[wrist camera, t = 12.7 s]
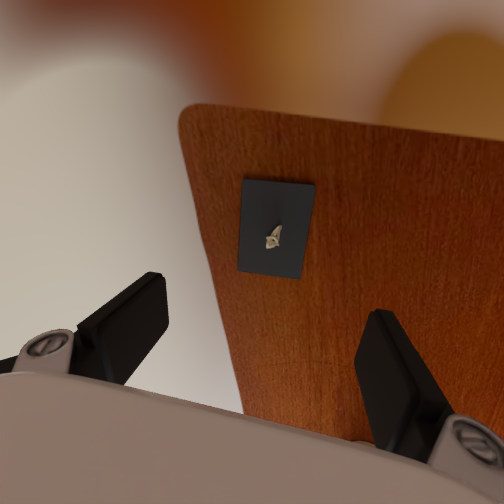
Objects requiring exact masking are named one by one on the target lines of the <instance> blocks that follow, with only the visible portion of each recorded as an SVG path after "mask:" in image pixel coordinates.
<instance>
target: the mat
mask: <svg viewBox="0 0 504 504" xmlns="http://www.w3.org/2000/svg"><path fill="white" fill-rule="evenodd" d="M315 189H316V185H310V184H299V183H288V182H277V181H267V180H256V179H245V178H244V179H243V183H242V201H241V219H240V236H239V254H238V271H244V272H251V273H258V274H264V275H271V276H278V277H285V278H292V279H299V280H300V276H301V271H302V265H303V259H304V253H305V247H306V242H307V236H308V230H309V224H310V218H311V212H312V207H313V201H314V195H315ZM279 225H282V228H281V230H280V236H279V241H278V244H279V246H278V245H276V246H274V248H268V249H267V248H266V242H267V238H266V237H270V236H271V234H272V232H273V231H274V230H275V229H276V228H277V227H278V226H279ZM275 237H277V235H276V236H275ZM272 241H275V240H274V239H273V240H272ZM275 244H276V243H275ZM269 245H270V244H269Z"/></svg>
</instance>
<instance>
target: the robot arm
mask: <svg viewBox="0 0 504 504" xmlns="http://www.w3.org/2000/svg"><path fill="white" fill-rule="evenodd" d="M168 325H169V316H168V305H167V292H166V280H165V278H164V277H163V276H162V274H161V273H155V272H147V273H146V274H144V275H143V276H142V277H140V278H139V279H138V280H136V281H135V282H134V283H132V284H131V285H130V286H128V287H127V288H126V289H125V290H123V291H122V292H120V293H119V294H118V295H117V296H115V297H114V298H113V299H111V300H110V301H109V302H107V303H106V304H105V305H103V306H102V307H101V308H99V309H98V310H97V311H95V312H94V313H93V314H91V315H90V316H89V317H87V318H86V319H85V320H83V321H82V322H81V323H79V324H78V325H77V328H78V330H77V331H76V332H75V333H73V332H72V331H70V330H67V329H57V330H51V331H48V332H45V333H42V334H40V335H38V336H36V337H34V338H33V339H31V340H30V341H28V342H27V343H26V344H25V345H24V346H23V347H22V349H21V350H20V353H19V355H17V356H14V357H10V358H7V359H4V360H0V504H504V440H503V439H502V438H501V437H499V436H498V435H497V434H496V433H495V432H494V431H493V430H491V429H490V428H489V427H487V426H486V425H485V424H483V423H481V422H479V421H478V420H476V419H474V418H471V417H469V416H466V415H462V414H455V412H454V411H453V409H452V407H451V406H450V404H449V402H448V401H447V399H446V397H445V396H444V394H443V392H442V391H441V389H440V388H439V386H438V384H437V383H436V381H435V379H434V378H433V376H432V374H431V373H430V371H429V369H428V368H427V366H426V365H425V363H424V361H423V360H422V358H421V356H420V355H419V353H418V352H417V350H416V349H415V348H414V346H413V345H412V343H411V341H410V340H409V338H408V336H407V335H406V333H405V331H404V330H403V328H402V326H401V325H400V323H399V321H398V320H397V318H396V316H395V315H394V313H393V312H392V311H388V310H382V309H376V310H375V311H374V312H373V311H371V312H370V314H369V316H368V320H367V323H366V326H365V329H364V332H363V335H362V338H361V341H360V344H359V347H358V350H357V353H356V356H355V360H354V366H355V371H356V374H357V378H358V382H359V386H360V390H361V393H362V397H363V401H364V405H365V409H366V412H367V416H368V420H369V424H370V428H371V431H372V435H373V439H374V443H375V447H376V448H373V447H369V446H366V445H362V444H358V443H355V442H351V441H347V440H343V439H340V438H336V437H332V436H328V435H324V434H320V433H316V432H312V431H308V430H304V429H300V428H296V427H292V426H288V425H284V424H280V423H276V422H272V421H268V420H264V419H260V418H256V417H252V416H248V415H244V414H240V413H236V412H231V411H227V410H223V409H219V408H215V407H211V406H207V405H203V404H199V403H195V402H191V401H187V400H182V399H178V398H174V397H170V396H166V395H161V394H158V393H153V392H149V391H145V390H141V389H136V388H132V387H128V386H124V384H125V383H126V381H127V380H128V379H129V378H130V376H131V375H132V374H133V372H134V371H135V370H136V369H137V367H138V366H139V365H140V363H141V362H142V361H143V360H144V358H145V357H146V356H147V354H148V353H149V352H150V350H151V349H152V348H153V346H154V345H155V344H156V343H157V341H158V340H159V339H160V337H161V336H162V335H163V334H164V332H165V331H166V330H167V328H168Z"/></svg>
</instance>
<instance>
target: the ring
mask: <svg viewBox="0 0 504 504" xmlns="http://www.w3.org/2000/svg"><path fill="white" fill-rule="evenodd" d="M281 228H282V225H279V226H278V227H277V228H276V229H275V230H274V231H273V232H272V234H271V236H270V237H266V238H267V242H266V248H267V249H268V248H274V246H276V245H278V246H279V244H278V241H279V236H280V230H281ZM276 235H277V237H275V236H276ZM273 239H274V240H275V241H272V240H273ZM275 243H276V244H275ZM269 244H270V245H269Z"/></svg>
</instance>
